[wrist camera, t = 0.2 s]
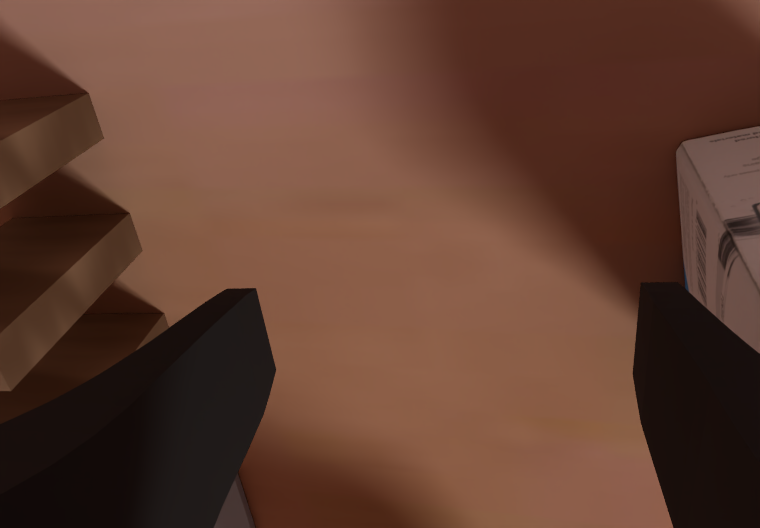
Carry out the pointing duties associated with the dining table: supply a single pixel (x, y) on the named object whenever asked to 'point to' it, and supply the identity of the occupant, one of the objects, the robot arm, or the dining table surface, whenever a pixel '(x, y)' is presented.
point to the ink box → (723, 226)
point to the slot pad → (235, 509)
